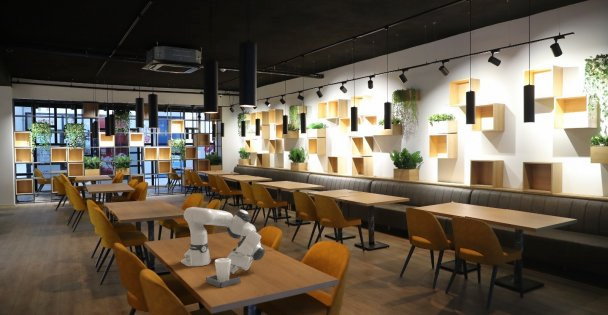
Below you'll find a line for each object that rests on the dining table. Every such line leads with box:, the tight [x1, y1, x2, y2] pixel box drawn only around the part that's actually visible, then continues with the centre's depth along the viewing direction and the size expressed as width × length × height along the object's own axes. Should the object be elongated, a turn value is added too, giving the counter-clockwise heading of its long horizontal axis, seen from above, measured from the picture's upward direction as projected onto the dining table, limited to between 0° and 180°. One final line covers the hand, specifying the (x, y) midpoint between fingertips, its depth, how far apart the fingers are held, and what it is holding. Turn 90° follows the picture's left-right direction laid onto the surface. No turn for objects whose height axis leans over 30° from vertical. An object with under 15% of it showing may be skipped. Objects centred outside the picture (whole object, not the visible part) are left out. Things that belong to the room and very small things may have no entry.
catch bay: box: [205, 274, 241, 289], centre depth 247 cm, size 15×14×3 cm
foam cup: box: [214, 257, 231, 282], centre depth 248 cm, size 10×9×13 cm
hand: (231, 272), depth 251 cm, fingers closed, pressing on foam cup
